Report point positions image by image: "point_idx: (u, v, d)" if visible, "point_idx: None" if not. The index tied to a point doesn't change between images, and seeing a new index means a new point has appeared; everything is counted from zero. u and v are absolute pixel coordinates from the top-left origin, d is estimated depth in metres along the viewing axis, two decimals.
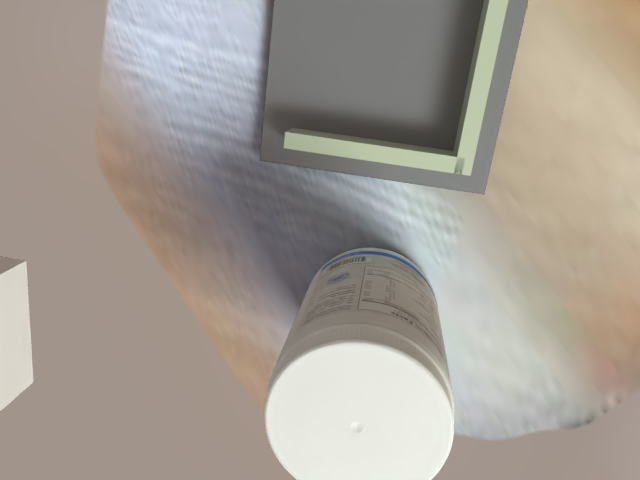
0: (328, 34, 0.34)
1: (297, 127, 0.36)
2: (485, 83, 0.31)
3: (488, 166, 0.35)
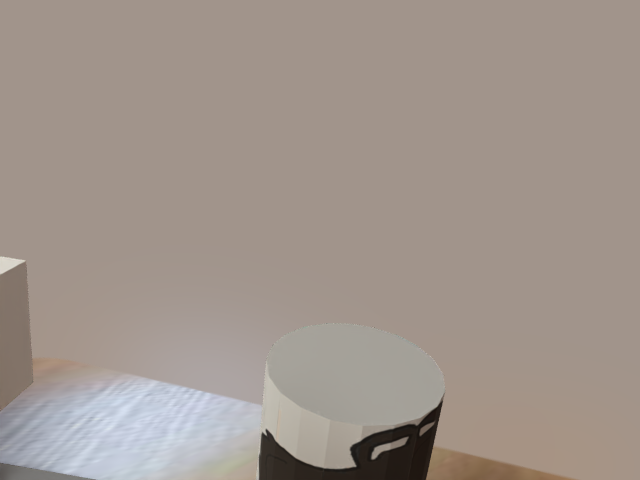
0: None
1: None
2: None
3: None
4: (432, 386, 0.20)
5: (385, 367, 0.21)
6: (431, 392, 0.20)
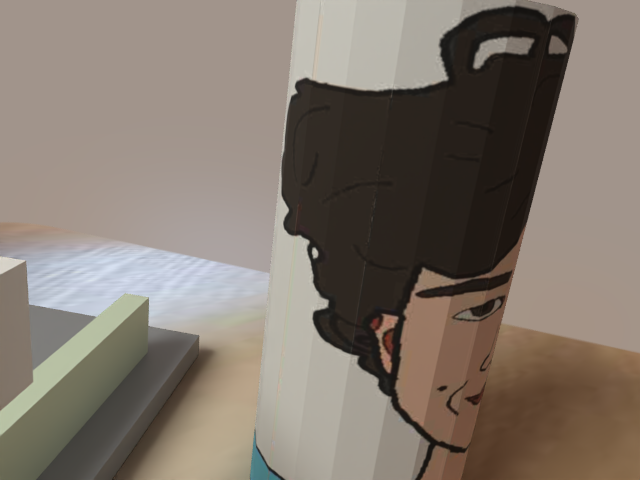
0: None
1: None
2: None
3: None
4: None
5: None
6: None
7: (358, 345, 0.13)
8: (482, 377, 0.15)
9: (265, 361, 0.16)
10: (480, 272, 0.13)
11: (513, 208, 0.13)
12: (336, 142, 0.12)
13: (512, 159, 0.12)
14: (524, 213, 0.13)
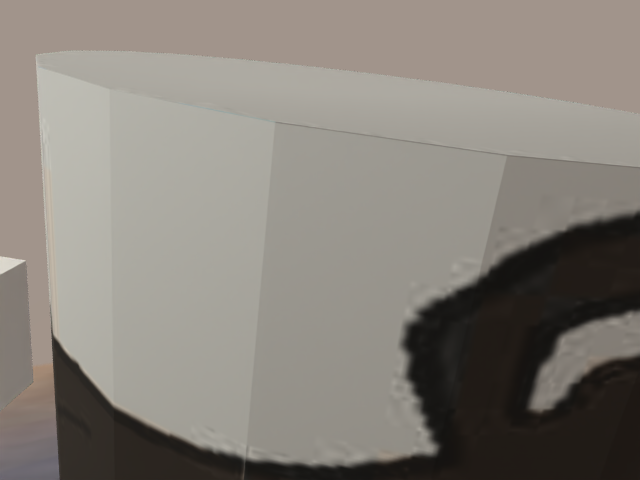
0: None
1: None
2: None
3: None
4: None
5: (510, 102, 0.06)
6: None
7: None
8: None
9: None
10: None
11: None
12: None
13: None
14: None
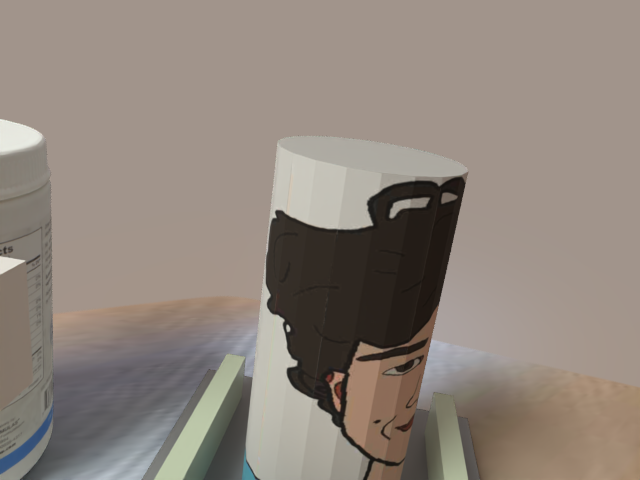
0: None
1: (241, 400, 0.29)
2: None
3: None
4: (454, 168, 0.19)
5: (403, 157, 0.20)
6: (453, 170, 0.18)
7: (317, 393, 0.19)
8: (408, 412, 0.20)
9: (253, 398, 0.21)
10: (400, 343, 0.19)
11: (423, 300, 0.18)
12: (302, 258, 0.18)
13: (420, 270, 0.18)
14: (433, 301, 0.19)
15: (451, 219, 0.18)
